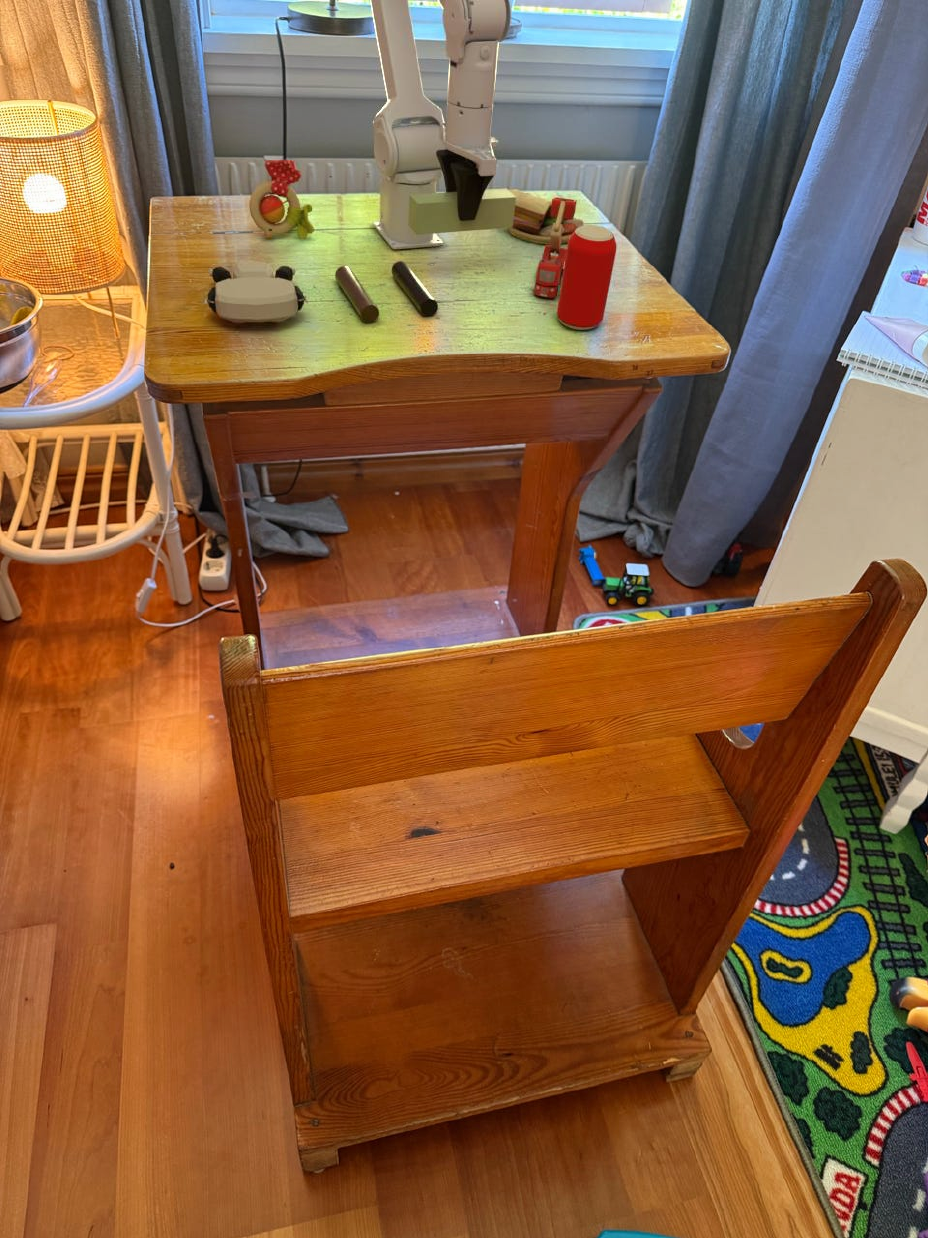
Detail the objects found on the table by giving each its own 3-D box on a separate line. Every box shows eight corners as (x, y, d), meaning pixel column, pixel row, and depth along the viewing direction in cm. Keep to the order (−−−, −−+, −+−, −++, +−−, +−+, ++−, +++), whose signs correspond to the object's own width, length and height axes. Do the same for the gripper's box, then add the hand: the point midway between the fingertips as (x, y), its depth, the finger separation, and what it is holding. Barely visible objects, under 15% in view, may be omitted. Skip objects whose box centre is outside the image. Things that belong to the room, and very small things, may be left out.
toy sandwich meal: (568, 253, 138) (573, 221, 135) (485, 234, 141) (487, 202, 138) (590, 226, 147) (595, 195, 144) (511, 208, 150) (514, 178, 146)
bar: (416, 234, 120) (417, 203, 118) (408, 225, 123) (409, 194, 120) (512, 227, 125) (516, 196, 122) (503, 218, 127) (506, 188, 124)
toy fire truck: (531, 298, 126) (541, 226, 119) (545, 259, 136) (554, 191, 129) (555, 302, 126) (566, 230, 119) (567, 263, 135) (578, 195, 129)
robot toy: (206, 290, 122) (208, 336, 111) (202, 255, 119) (203, 298, 108) (300, 288, 124) (310, 333, 113) (298, 254, 121) (308, 296, 110)
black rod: (391, 278, 127) (391, 261, 125) (407, 277, 128) (408, 260, 126) (420, 317, 119) (421, 299, 117) (437, 315, 120) (438, 298, 118)
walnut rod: (335, 283, 124) (334, 266, 123) (352, 282, 125) (352, 264, 124) (361, 323, 117) (361, 305, 115) (379, 322, 117) (379, 304, 116)
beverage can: (547, 323, 121) (560, 231, 113) (570, 307, 125) (585, 217, 116) (587, 338, 119) (604, 245, 110) (609, 322, 122) (627, 231, 114)
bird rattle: (276, 260, 133) (330, 230, 134) (239, 189, 125) (297, 157, 125) (265, 243, 137) (317, 214, 138) (228, 174, 129) (284, 143, 129)
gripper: (523, 118, 110) (511, 233, 119) (477, 84, 119) (468, 192, 129) (469, 120, 108) (461, 237, 117) (426, 85, 117) (421, 195, 126)
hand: (461, 214), depth 123 cm, fingers closed on bar, 3 cm apart
